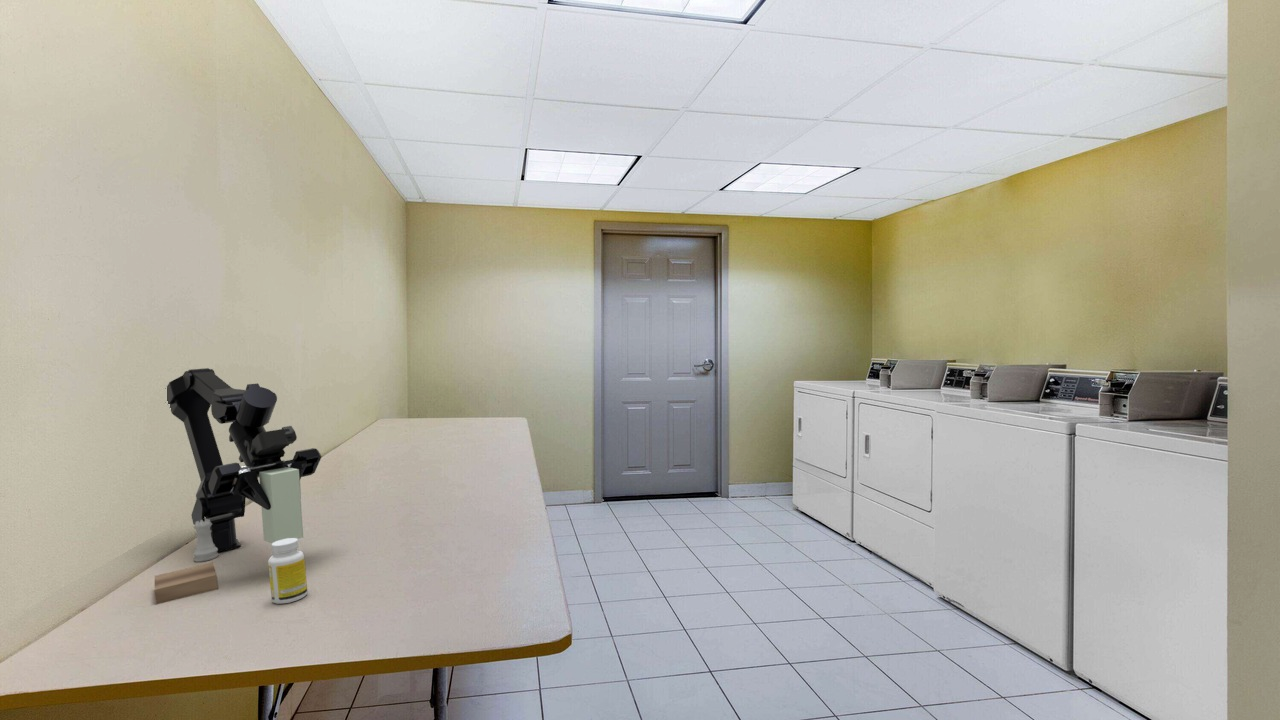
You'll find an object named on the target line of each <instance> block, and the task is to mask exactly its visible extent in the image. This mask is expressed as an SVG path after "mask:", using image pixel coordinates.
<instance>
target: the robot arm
mask: <svg viewBox="0 0 1280 720" xmlns="http://www.w3.org/2000/svg"><path fill="white" fill-rule="evenodd" d="M166 387H167V401H168V404H170V407H169V409H170V408H171V410H170V412H171V414H172V415H173V416H174V417H176V418H177V419H178V420H179V421H181V422H182V423H183V425H184V428H185V432H186V434H187V439H188V441H189V445H190V449H191V451H192V452H191V453H192V455H193V459H194V462H195V465H196V468H197V472H198V476H199V478H200V484H199V486H198V489H197V491H196V494H195V498H196V500H195V504H194V506H193V509H192V512H191V520H192V523H193V525H194V526H195V522H196V521H199V522H200V520H203V522H204V521H205V519H210V522H211V523H212V525H211V527H210V530H211V531H212V532H211V537H212V541H213V543H214V544H215V547H217V548H218V551H217V553H221V552H225V551H229V550H233V549H238V548H241V547H242V545H241V543H240V542H239V540H238V538H237V532H236V531H237V530H236V522H235V521H236V520H235V519H239V518H242V517H245V512H246V499H248V500H250V501H252V502H253V503H255V504H257V505H258V506H260V507H261V508H262V507H263V508H265V509H267V510H270V508H271V505H270V502H269V499H268V498H267V496H266V494H265V492H264V490H263V489H262V487H261V485H260V480H259V472H263V471H268V470H274V469H279V468H285V467H289V468H294V469H299V479H300V480H301V479H302V478H303V477H308V476H312V475H314V474H315V473H316V470H317V468H318V466H319V463H320V461H321V459H322V457H323V456H322V455H321V453H320V451H319V450H318V449H317V448H307V449H301V450H297V451H295V454H294V456H293V458H292V459H289V460H288V459H287V460H282V458H283V457H285V454H286V452H285V450H284V449H285V448H286V447H289V445H292V444H294V442H296V441H297V438H298V436H297V434H296V430H295V429H294V428H293V427H292V425H288V426H283V427H281V429H275V430H268V431H266V428H265V425H267V424H269V423H270V420H271V418H272V415H273V412H274V408H275V407H276V404H277V401H278V396H277V394H276V393H275V392H274V391H272V390H270V389H269V388H265V387H262V386H260V384H259V383H247V384H246V387H245V389H239V388H238V389H237V388H233V387H232V386H231V385H230V384H228V383H227V382H225V380H223V379H222V378H220V377H219V376H218V375H217V374H216V373H215V371H214V369H212V368H209V367H207V368H205V367H204V368H194V369H191V368H190V369H188V370H186V371H184V372H183V374H182V375H181V376H179V377H177V378H175V379H172V380H171V381H169V382H168V384H167V386H166ZM168 404H167V405H168ZM210 409H211V410H210ZM209 410H210V411H211V415H212V417H213V419H215V420H216V421H217V422H218V423H219V425H220V424H222V425H223V424H224V425H225V424H230V425H229V428H228V432H229V436H228V439H229V440H228V441H229V442H230V443H231V442H232V443H234V444H235V447H236V449H237V450H238V453H239V457H238V461H239V462H240V463H244V465H240V463H238V462H231V463H227V464H224V463H223V460H222V457H221V453H220V449H219V447H218V444H217V443H218V442H217V441H216V436H215V434H214V431H213V426H212V424H211V421H210V416H209V415H208V414H209V413H208V412H209ZM301 492H302V491H301V488H300V494H301V495H302V493H301Z"/></svg>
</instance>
